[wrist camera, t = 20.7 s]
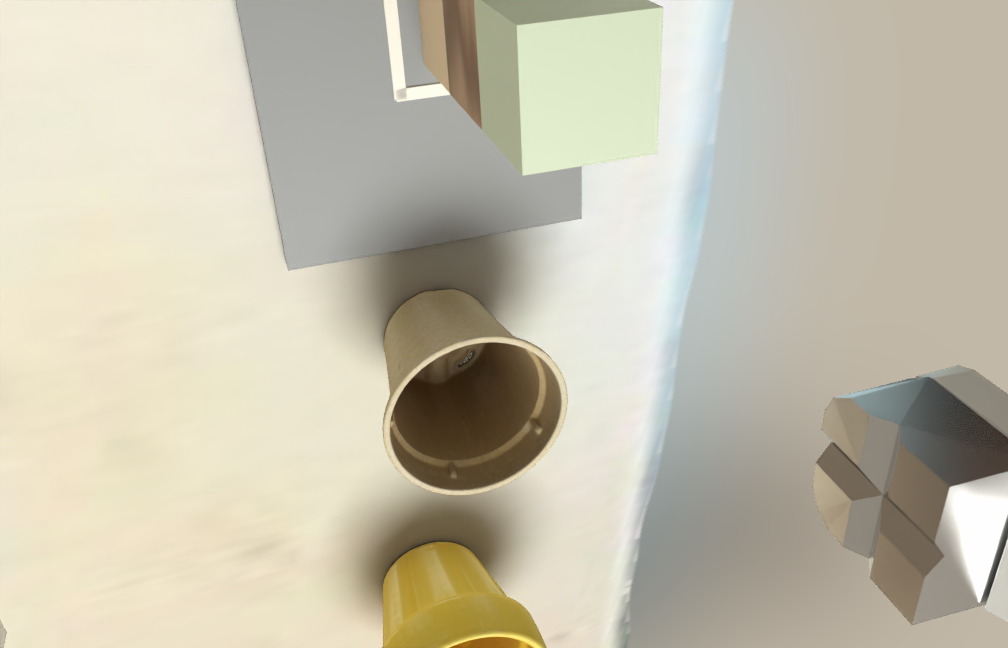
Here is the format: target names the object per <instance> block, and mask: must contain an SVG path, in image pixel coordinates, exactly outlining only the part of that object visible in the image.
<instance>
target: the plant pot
mask: <svg viewBox="0 0 1008 648" xmlns="http://www.w3.org/2000/svg"><path fill="white" fill-rule="evenodd" d="M382 648H546V645H545V643H544V641H543V639H542V636H541V634H540V632H539V630H538V628H537V626H536V624H535V622H534V620H533V618H532V617H531V615H530V613H529V612H528V611H527V609H526V608H525V607H523V606H522V605H521V604H520V603H518V602H517V601H515V600H513V599H511V598H509V597H507V596H506V595H505V593H504V592H503V591H502V589H501V588H500V587H499V586H498V584H497V583H496V582H495V580H494V579H493V578H492V577H491V575H490V574H489V573H488V572H487V570H486V569H485V568H484V566H483V565H482V564H481V562H480V561H479V560H478V558H477V557H476V556H475V555H474V554H473V553H472V552H471V551H470V550H469V549H467V548H466V547H464V546H462V545H460V544H456V543H452V542H433V543H428V544H424V545H421V546H419V547H416V548H414V549H412V550H410V551H408V552H407V553H405V554H404V555H402V556H401V557H400V558H399V559H398V560H397V561H396V562H395V563H394V564H393V565H392V566H391V567H390V569H389V570H388V572H387V574H386V576H385V579H384V583H383V647H382Z"/></svg>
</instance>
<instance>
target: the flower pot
mask: <svg viewBox="0 0 1008 648" xmlns="http://www.w3.org/2000/svg"><path fill="white" fill-rule="evenodd" d="M471 351H474V352H475V353H474V355H473V357H472V358H471V360H469V361H468V363H466V364H465V365H462V366H458V364H460V363H461V362H462V361H463V360H464V359H465V358H466V357H467V356H468V355H469V354H470V352H471ZM384 352H385V356H386V363H387V371H388V379H389V388H390V397H389V400H388V403H387V406H386V409H385V413H384V419H383V438H384V444H385V448H386V451H387V454H388V456H389V459H390V460H391V462H392V464H393V465H394V466H395V468H396V469H397V470H398V471H399V472H400V473H401V474H402V475H403V476H404V477H405V478H406V479H408V480H409V481H410V482H412V483H414V484H415V485H417V486H419V487H421V488H424V489H426V490H429V491H431V492H435V493H439V494H445V495H471V494H477V493H482V492H486V491H490V490H492V489H496V488H500V487H501V486H504V485H505V484H508V483H510V482H512V481H513V480H516V479H517V478H519V477H520V476H522V475H523V474H525V473H526V472H527V471H528V470H530V469H531V468H532V467H534V466H535V465H536V463H537V462H539V461H540V459H541V458H542V457H543V456H544V455H545V454H546V453H547V452H548V450H549V449H550V448H551V446H552V445H553V443H554V442H555V440H556V439H557V437H558V435H559V433H560V431H561V428H562V425H563V423H564V420H565V416H566V411H567V388H566V384H565V381H564V378H563V376H562V373H561V371H560V370H559V368H558V366H557V365H556V364H555V362H554V361H553V360H552V359H551V358H550V356H549V355H548V354H546V353H545V352H544V351H543V350H542V349H540V348H539V347H537V346H535V345H534V344H532V343H530V342H528V341H526V340H523V339H520V338H516V337H514V336H513V335H512V334H511V333H509V332H508V331H507V330H506V329H505V328H504V327H503V326H502V325H501V324H500V323H499V322H498V321H497V320H496V319H495V318H494V317H493V316H492V315H491V314H490V313H489V312H488V311H487V310H486V309H485V308H484V307H483V306H482V305H481V303H480V302H479V301H478V300H476V299H475V298H474V297H472V296H471V295H469V294H467V293H464V292H462V291H459V290H455V289H448V290H437V291H425V292H422V293H420V294H418V295H416V296H414V297H413V298H411V299H409V300H408V301H406V302H405V303H404V304H403V305H401V306H400V307H399V308H398V310H397V311H396V312H395V313H394V315H393V316H392V318H391V319H390V321H389V323H388V325H387V328H386V332H385V339H384Z"/></svg>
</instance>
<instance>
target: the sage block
mask: <svg viewBox="0 0 1008 648" xmlns="http://www.w3.org/2000/svg"><path fill="white" fill-rule="evenodd" d="M474 8H475V25H476V41H477V57H478V73H479V89H480V105H481V121H482V131H483V132H484V133H485V134H486V135H487V136H488V137H489V138H490V140H491V141H492V142H493V143H494V144H495V145H496V146H497V147H498V149H499V150H500V151H501V152H502V153H503V154H504V155H505V156H506V158H507V159H508V160H509V161H510V162H511V163H512V164H513V165H514V167H515V168H516V169H517V170H518V171H519V172H520V173H521V174H522V176H524V175H530V174H536V173H543V172H549V171H555V170H561V169H567V168H573V167H579V166H585V165H591V164H597V163H604V162H610V161H616V160H622V159H628V158H634V157H640V156H646V155H652V154H657V145H658V121H659V98H660V74H661V51H662V27H663V7H662V6H659V5H657V4H655V3H653V2H651V1H648V0H474Z"/></svg>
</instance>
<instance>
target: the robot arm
mask: <svg viewBox="0 0 1008 648" xmlns="http://www.w3.org/2000/svg"><path fill="white" fill-rule="evenodd" d="M821 430H822V431H823V432H824V434H825V435H826V436H827V438H828V439H829V440H830V442H831V443H830V445H829V446H828V447H827V449H826V450H825V451H824V452H823V454H822V455H821V456H820V458H819V459H818V460H817V462H816V464H815V472H814V481H813V490H814V494H815V498H816V503H817V507H818V511H819V513H820V515H821V517H822V519H823V521H824V523H825V524H826V526H827V528H828V530H829V531H830V532H831V533H832V535H833V536H834V537H835V538H836V539H837V540H838V542H839V543H840V544H841V545H842V546H843V547H844V548H847V549H849V550H851V551H853V552H856V553H858V554H860V555H863V556H865V557H867V558H869V574H870V578H871V580H872V581H873V582H874V583H875V584H876V585H877V586H878V588H879V589H880V590H881V591H882V592H883V593H884V594H885V595H886V596H887V598H888V599H889V600H890V601H891V602H892V603H893V604H894V605H895V607H896V608H897V609H898V610H899V611H900V612H901V613H902V614H903V616H904V617H905V618H906V619H907V620H908V621H909V622H910V623H911V625H915V624H918V623H922V622H925V621H929V620H932V619H936V618H939V617H943V616H947V615H950V614H954V613H957V612H960V611H965V610H968V609H971V608H975V607H978V606H982V605H986V606H985V610H987V611H989V612H991V613H993V614H994V615H996V616H998V617H1000V618H1002V619H1004V620H1006V621H1007V622H1008V394H1007V393H1006V392H1004V391H1003V390H1001V389H1000V388H999V387H997V386H996V385H995V384H993V383H992V382H990V381H989V380H988V379H986V378H985V377H983V376H982V375H980V374H979V373H978V372H976V371H975V370H973V369H969V368H966V367H962V366H959V365H957V366H954V367H950V368H946V369H942V370H939V371H934V372H931V373H927V374H923V375H919V376H917V377H915V378H911V379H906V380H902V381H898V382H894V383H890V384H886V385H882V386H878V387H874V388H870V389H866V390H862V391H858V392H854V393H850V394H846V395H842V396H838V397H834V398H833V399H832V400H831V402H830V403H829V405H828V406H827V408H826V409H825V413H824V418H823V423H822V429H821ZM6 633H7V632H6V630H5V628H4V627H3V625H2V623H1V621H0V648H4V643H5V638H6Z"/></svg>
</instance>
